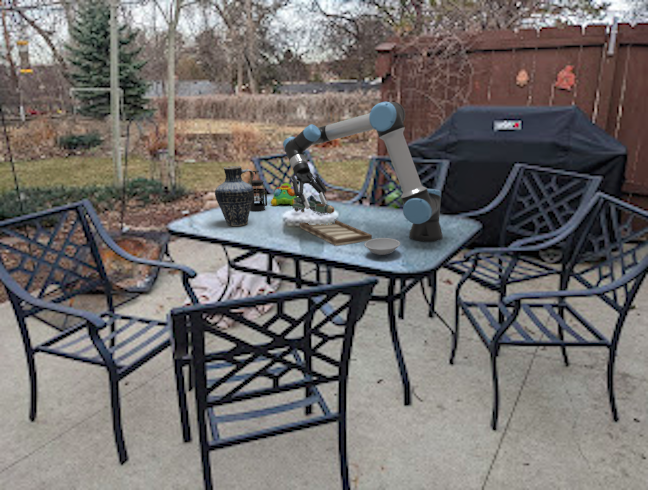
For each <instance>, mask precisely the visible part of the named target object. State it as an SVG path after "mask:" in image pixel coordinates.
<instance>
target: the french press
mask: <svg viewBox="0 0 648 490" xmlns="http://www.w3.org/2000/svg"><path fill="white" fill-rule="evenodd" d="M252 171H253V173H254V175H255V177H257V173H260V171H259V170H252ZM264 182H265V181H264V180H261V179H260V180H259V179H255V180H254V179H253V180H252V187H255V188H253V189H254V194H256V195H254V196H253V201H252V204H251V208H250V212H253V213H254V212H257V213H258V212H264V211H266V207H267V206H268V198H267V197H268V194H267V193H268V191H267V190H265V188H259V187H262V186H264ZM247 183H249V181H248V182H247ZM257 187H258V188H257Z"/></svg>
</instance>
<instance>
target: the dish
mask: <svg viewBox="0 0 648 490" xmlns="http://www.w3.org/2000/svg"><path fill="white" fill-rule="evenodd" d="M363 243H364V244H363V245H364V247H366V248H367V250H368V251H369V252H370V253H372V254H375V255H379V256H384V255H389V254H392V253H393V252H394V251H396V250H397V248H399V246H400V245H401V242H400V241H399V240H397V239H395V238H388V237H377V238H372V239H371V240H368V241H364V242H363Z"/></svg>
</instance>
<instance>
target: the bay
mask: <svg viewBox="0 0 648 490" xmlns="http://www.w3.org/2000/svg"><path fill="white" fill-rule="evenodd" d="M335 220H336V221H335V224H332V223H330V224H332V225H329V223H328V225H326V224H325V225H324V224H321V225H319V224H316V225H309V224H308V223H303V222H300V223H299V228H300V229H302V230H303V231H306V232H308V233H310V234H311V235H314V236H316V237H317V238H319V239H322V240H324V241H326V242H327V243H329V244H331V245H333V246H335V247H337V246H343V245H345V246H346V245H350V244H356V243H362V242H363V243H365V242H366V241H368V240H371V239H373V235H372V234H370V233H368V232H365V231H363V230H361V229H359V228H356V227H354V226H352V225H349V224H347V223H344V222H342V221H339V220H337V219H335Z"/></svg>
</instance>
